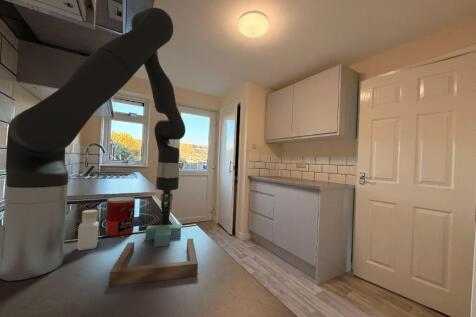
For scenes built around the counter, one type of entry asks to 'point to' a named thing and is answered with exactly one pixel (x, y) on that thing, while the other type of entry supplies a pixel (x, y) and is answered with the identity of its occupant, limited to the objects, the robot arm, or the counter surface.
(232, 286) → the counter surface
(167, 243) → the teal T block
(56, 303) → the counter surface
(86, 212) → the salt shaker
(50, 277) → the counter surface
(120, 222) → the canned food
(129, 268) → the tray
